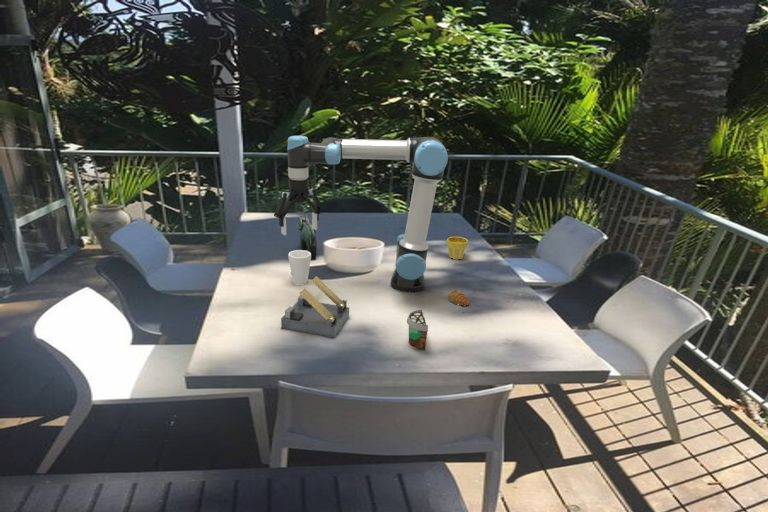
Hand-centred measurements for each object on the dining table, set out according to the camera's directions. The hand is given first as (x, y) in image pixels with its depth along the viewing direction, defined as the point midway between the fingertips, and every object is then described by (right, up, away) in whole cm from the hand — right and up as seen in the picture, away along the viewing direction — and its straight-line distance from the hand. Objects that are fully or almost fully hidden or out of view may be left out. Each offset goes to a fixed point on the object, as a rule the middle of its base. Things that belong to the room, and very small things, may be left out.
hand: (299, 231), depth 191 cm
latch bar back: (+12, -24, -12) cm, 30 cm away
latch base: (+8, -34, -13) cm, 38 cm away
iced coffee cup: (+44, -40, -23) cm, 64 cm away
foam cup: (-3, -21, +19) cm, 29 cm away
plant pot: (+70, -11, +56) cm, 90 cm away
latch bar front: (+10, -27, -22) cm, 37 cm away
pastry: (+64, -29, +9) cm, 71 cm away
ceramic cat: (-4, -9, +51) cm, 52 cm away
